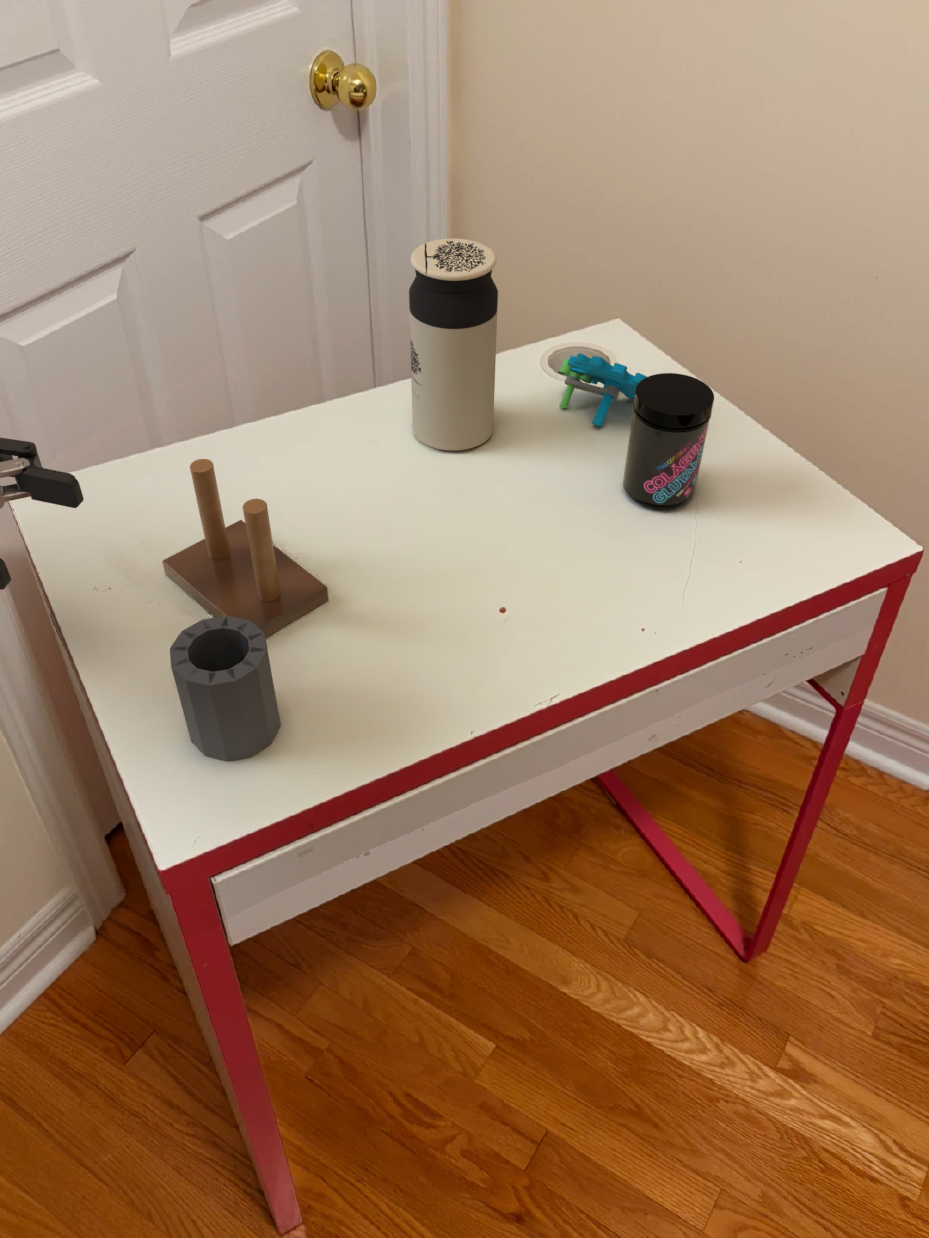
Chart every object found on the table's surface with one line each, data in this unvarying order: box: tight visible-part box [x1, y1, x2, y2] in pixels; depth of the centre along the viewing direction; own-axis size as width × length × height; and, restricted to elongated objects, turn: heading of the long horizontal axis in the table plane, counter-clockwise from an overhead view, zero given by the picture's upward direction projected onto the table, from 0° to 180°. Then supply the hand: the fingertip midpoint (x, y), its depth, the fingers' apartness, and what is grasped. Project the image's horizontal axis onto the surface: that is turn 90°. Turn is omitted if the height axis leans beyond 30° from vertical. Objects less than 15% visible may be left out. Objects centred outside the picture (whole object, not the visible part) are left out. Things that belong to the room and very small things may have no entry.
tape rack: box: [161, 458, 329, 638], centre depth 84 cm, size 12×8×10 cm, turn 44°
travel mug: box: [408, 238, 499, 451], centre depth 98 cm, size 8×8×18 cm
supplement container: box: [622, 372, 715, 511], centre depth 94 cm, size 7×7×10 cm
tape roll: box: [169, 616, 281, 762], centre depth 74 cm, size 6×6×8 cm
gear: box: [559, 352, 648, 428], centre depth 104 cm, size 11×6×10 cm
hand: (43, 531), depth 68 cm, fingers open, 8 cm apart
